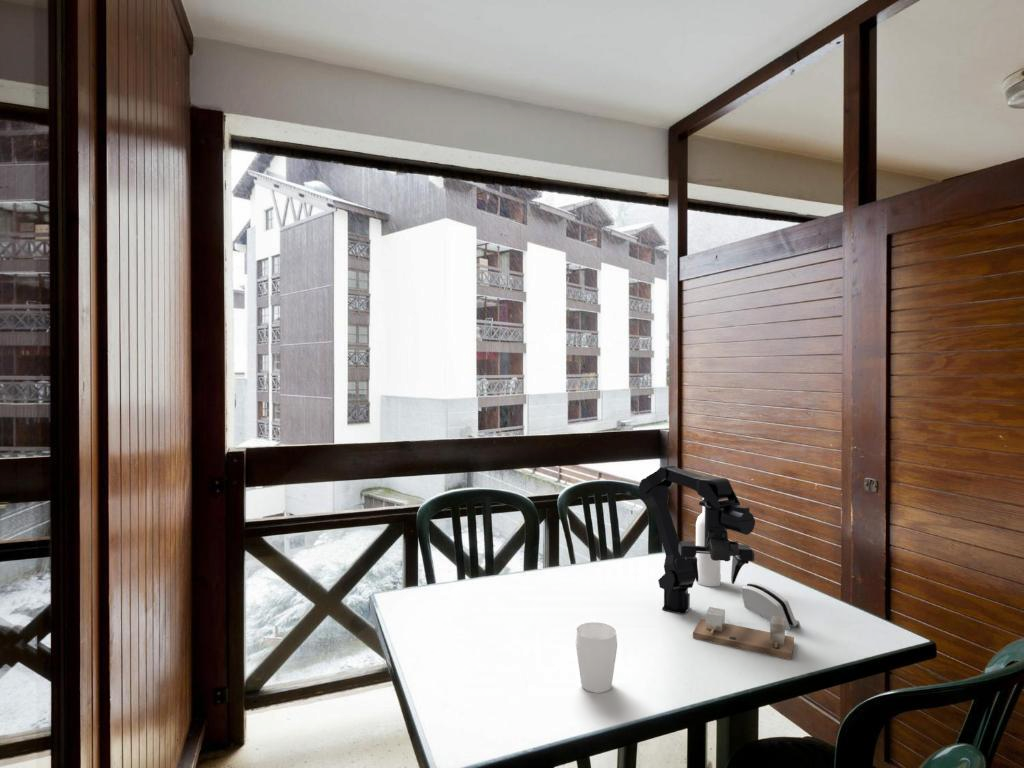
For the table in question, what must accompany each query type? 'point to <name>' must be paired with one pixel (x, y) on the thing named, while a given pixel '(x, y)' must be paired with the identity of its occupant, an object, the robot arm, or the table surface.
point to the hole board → (751, 637)
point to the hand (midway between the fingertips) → (714, 582)
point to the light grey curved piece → (768, 603)
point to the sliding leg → (715, 619)
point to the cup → (596, 655)
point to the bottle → (706, 558)
